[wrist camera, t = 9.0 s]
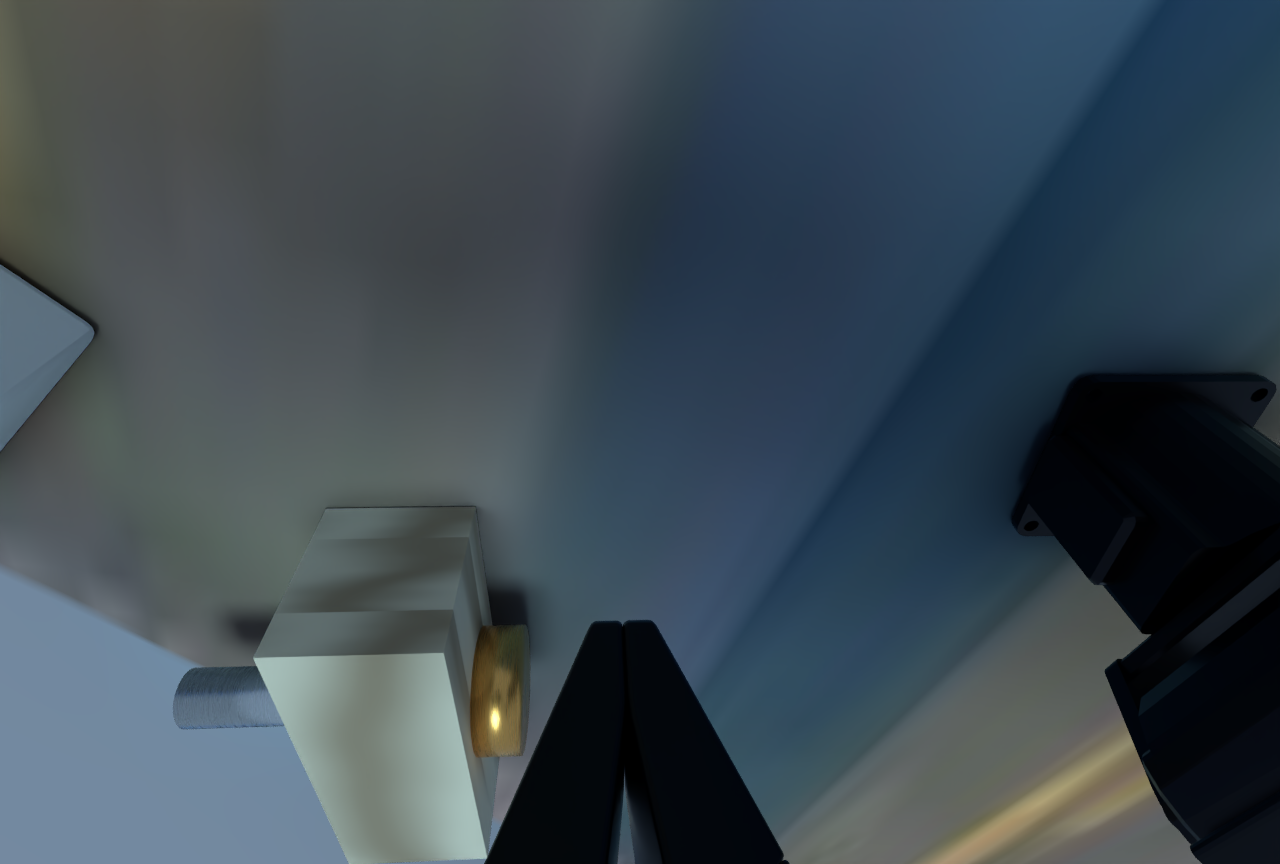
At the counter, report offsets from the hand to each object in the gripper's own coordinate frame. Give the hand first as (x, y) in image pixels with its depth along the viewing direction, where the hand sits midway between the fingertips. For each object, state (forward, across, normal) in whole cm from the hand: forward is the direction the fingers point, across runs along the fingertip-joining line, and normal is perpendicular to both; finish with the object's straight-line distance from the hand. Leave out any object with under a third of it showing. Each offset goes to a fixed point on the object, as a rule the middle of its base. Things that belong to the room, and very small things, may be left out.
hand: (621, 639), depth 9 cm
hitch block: (+12, +7, +14) cm, 20 cm away
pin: (+11, +9, +14) cm, 20 cm away
